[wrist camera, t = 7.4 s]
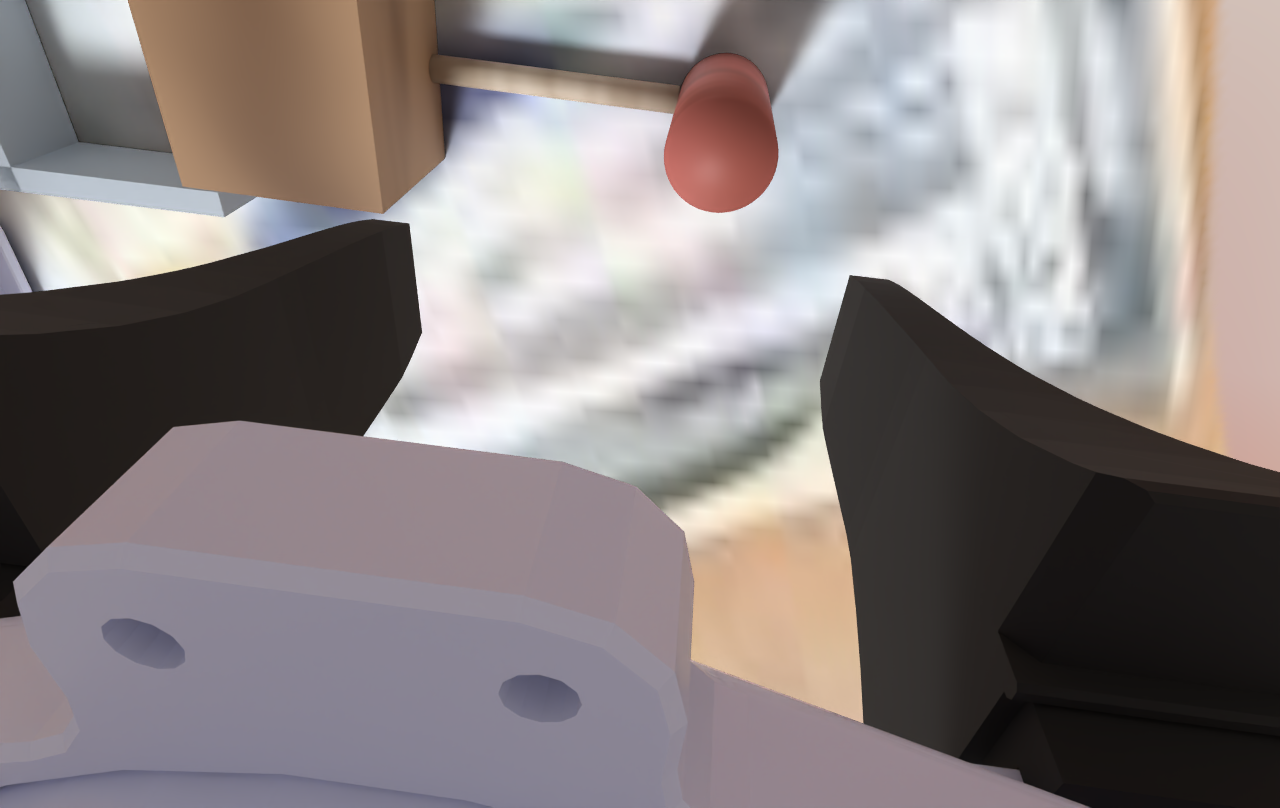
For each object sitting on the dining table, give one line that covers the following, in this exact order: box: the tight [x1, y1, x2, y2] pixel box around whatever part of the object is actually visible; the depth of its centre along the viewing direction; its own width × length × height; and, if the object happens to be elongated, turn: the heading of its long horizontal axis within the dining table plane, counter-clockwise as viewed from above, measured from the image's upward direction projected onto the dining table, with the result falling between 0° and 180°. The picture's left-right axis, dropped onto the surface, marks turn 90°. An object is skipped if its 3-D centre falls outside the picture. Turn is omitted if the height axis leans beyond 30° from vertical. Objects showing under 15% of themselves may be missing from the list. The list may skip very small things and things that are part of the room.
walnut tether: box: [128, 0, 778, 214], centre depth 17 cm, size 14×5×5 cm, turn 85°
